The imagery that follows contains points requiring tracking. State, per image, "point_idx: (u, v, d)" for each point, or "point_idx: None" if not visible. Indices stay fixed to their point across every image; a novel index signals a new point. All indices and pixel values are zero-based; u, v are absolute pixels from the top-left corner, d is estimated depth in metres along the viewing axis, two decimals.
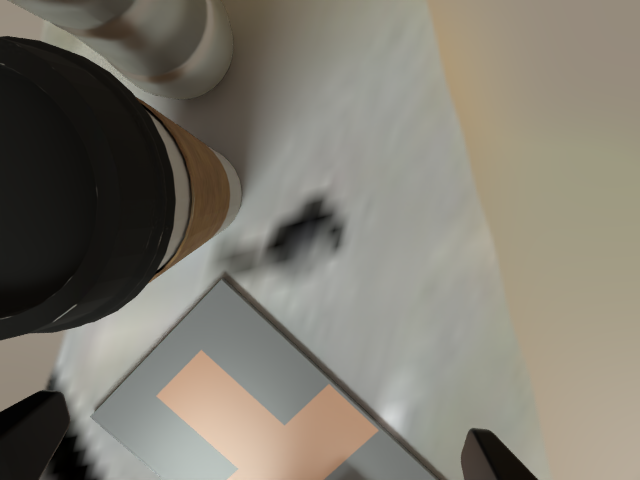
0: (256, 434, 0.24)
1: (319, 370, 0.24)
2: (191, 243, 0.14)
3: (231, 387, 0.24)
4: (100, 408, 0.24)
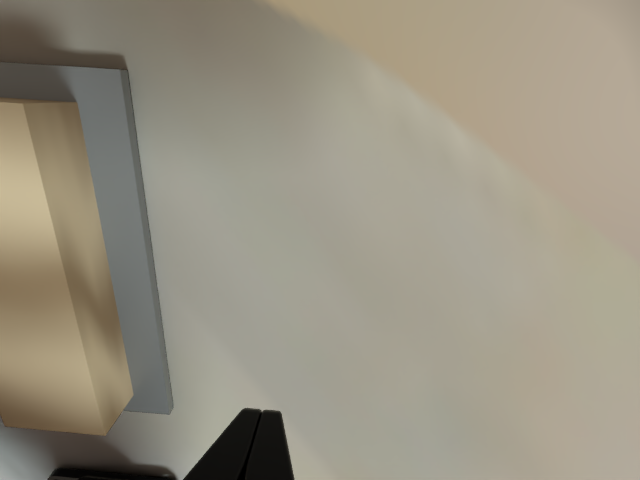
0: None
1: None
2: None
3: None
4: None
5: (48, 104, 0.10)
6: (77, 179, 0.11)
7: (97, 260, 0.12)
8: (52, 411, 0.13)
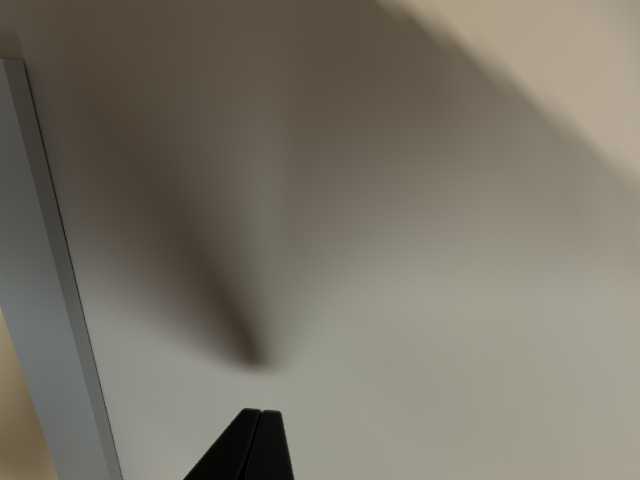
0: None
1: None
2: None
3: None
4: None
5: None
6: None
7: None
8: None
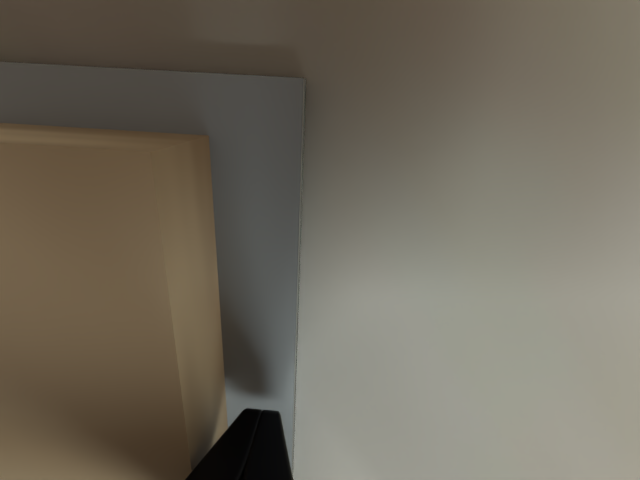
0: None
1: None
2: None
3: None
4: None
5: (180, 146, 0.05)
6: (204, 269, 0.06)
7: (216, 387, 0.07)
8: None
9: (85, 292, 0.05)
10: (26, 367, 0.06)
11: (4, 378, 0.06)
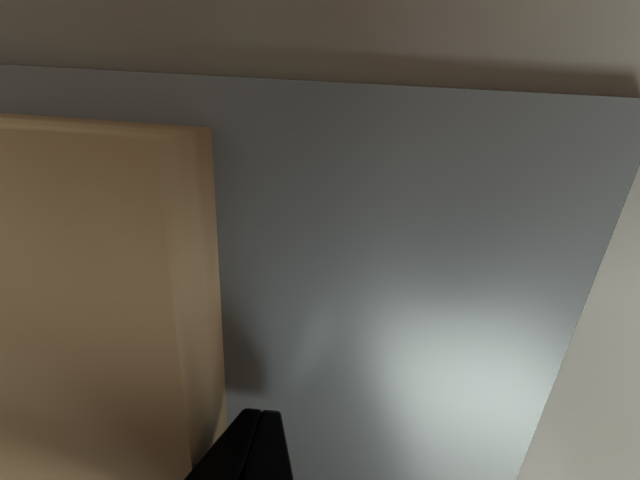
0: None
1: None
2: None
3: None
4: None
5: (184, 136, 0.05)
6: (206, 262, 0.06)
7: (216, 381, 0.07)
8: None
9: (86, 282, 0.05)
10: (26, 358, 0.06)
11: (4, 369, 0.06)
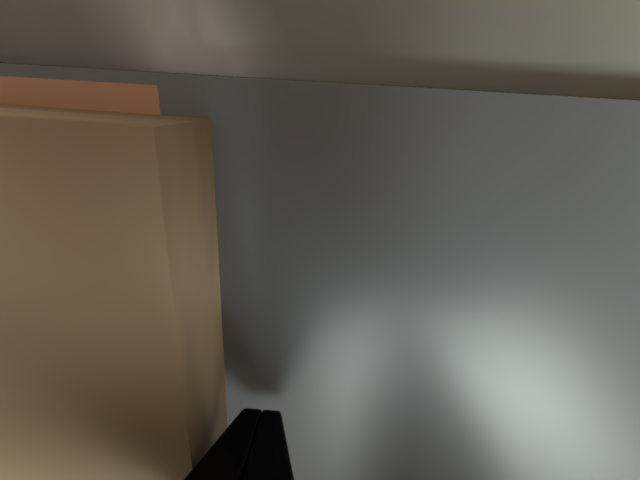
0: None
1: None
2: None
3: None
4: None
5: (183, 125, 0.05)
6: (205, 254, 0.06)
7: (216, 375, 0.07)
8: None
9: (85, 272, 0.05)
10: (24, 350, 0.06)
11: (2, 361, 0.06)
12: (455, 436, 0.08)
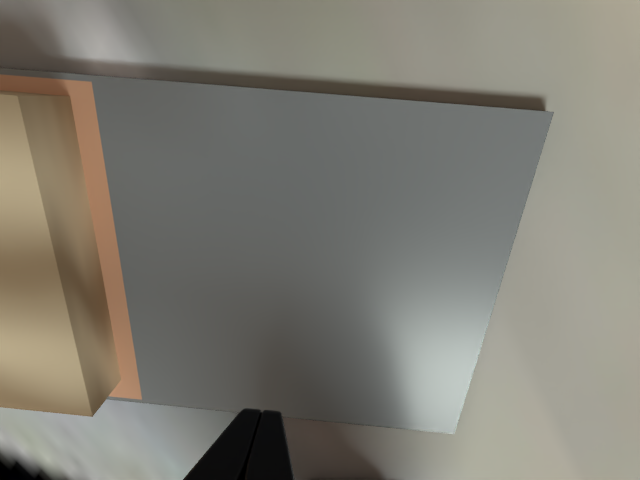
0: None
1: None
2: None
3: None
4: None
5: (42, 97, 0.10)
6: (69, 169, 0.12)
7: (87, 247, 0.13)
8: (41, 392, 0.14)
9: None
10: None
11: None
12: (282, 299, 0.14)
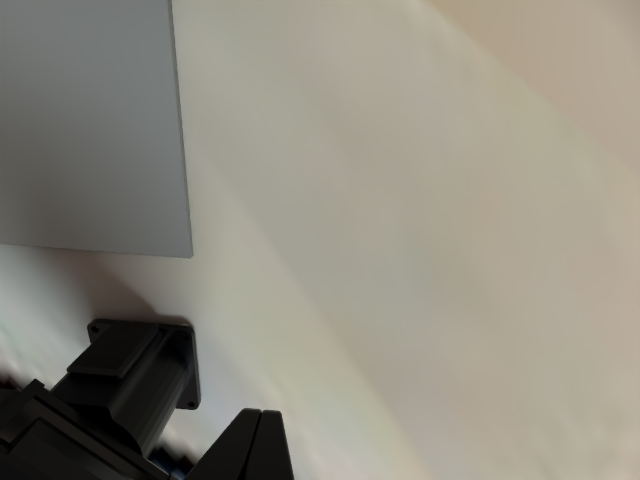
0: None
1: None
2: None
3: None
4: None
5: None
6: None
7: None
8: None
9: None
10: None
11: None
12: (16, 129, 0.17)
